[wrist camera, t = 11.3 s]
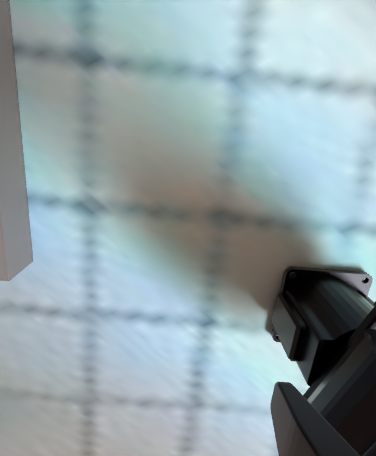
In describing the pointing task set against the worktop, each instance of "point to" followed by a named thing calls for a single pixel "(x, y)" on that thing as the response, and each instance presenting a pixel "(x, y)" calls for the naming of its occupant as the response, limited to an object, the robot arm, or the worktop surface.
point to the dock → (11, 163)
